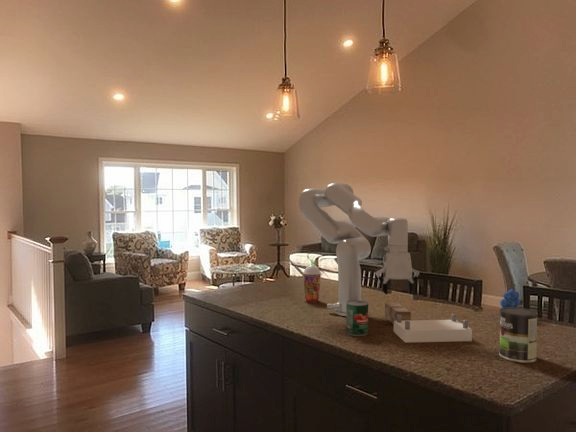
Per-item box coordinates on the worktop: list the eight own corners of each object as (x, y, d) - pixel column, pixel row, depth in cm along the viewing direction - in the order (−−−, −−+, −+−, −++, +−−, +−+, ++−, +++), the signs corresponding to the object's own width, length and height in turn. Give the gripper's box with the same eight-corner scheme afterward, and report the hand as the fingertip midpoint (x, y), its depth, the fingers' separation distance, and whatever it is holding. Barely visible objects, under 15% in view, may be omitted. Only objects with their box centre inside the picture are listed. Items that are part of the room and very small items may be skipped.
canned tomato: (363, 337, 160) (363, 305, 160) (342, 333, 164) (342, 303, 164) (371, 331, 167) (371, 301, 167) (351, 328, 171) (351, 299, 171)
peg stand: (405, 342, 154) (405, 323, 154) (393, 331, 167) (393, 313, 167) (471, 341, 156) (472, 321, 155) (455, 330, 169) (455, 312, 168)
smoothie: (300, 302, 217) (300, 259, 216) (306, 298, 224) (306, 257, 224) (317, 303, 213) (317, 260, 213) (323, 300, 221) (323, 258, 221)
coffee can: (511, 363, 134) (511, 315, 134) (492, 352, 144) (493, 307, 144) (544, 362, 135) (545, 314, 134) (523, 351, 145) (524, 306, 145)
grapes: (508, 314, 192) (509, 286, 191) (524, 318, 186) (524, 288, 186) (491, 318, 186) (491, 288, 185) (506, 322, 180) (506, 291, 180)
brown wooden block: (410, 327, 173) (410, 311, 173) (397, 328, 173) (397, 312, 172) (396, 317, 189) (396, 302, 189) (384, 317, 189) (385, 302, 188)
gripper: (378, 250, 176) (378, 295, 176) (422, 250, 177) (422, 294, 177) (373, 248, 183) (373, 291, 184) (416, 248, 184) (415, 291, 185)
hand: (397, 293), depth 181 cm, fingers open, 9 cm apart
